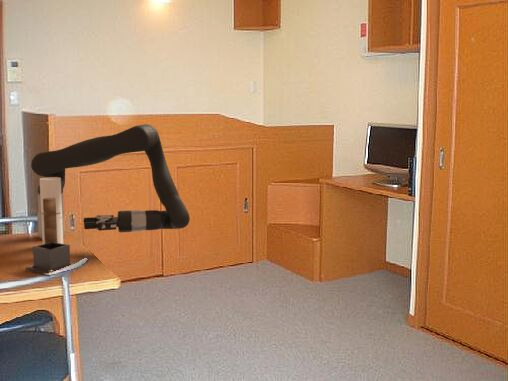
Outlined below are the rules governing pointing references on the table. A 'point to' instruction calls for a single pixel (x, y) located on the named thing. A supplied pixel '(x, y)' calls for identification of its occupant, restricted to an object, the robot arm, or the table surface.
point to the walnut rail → (50, 220)
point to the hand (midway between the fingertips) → (83, 223)
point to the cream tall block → (52, 189)
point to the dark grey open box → (50, 257)
